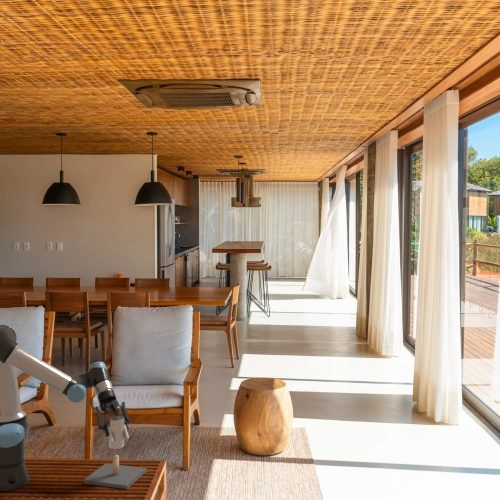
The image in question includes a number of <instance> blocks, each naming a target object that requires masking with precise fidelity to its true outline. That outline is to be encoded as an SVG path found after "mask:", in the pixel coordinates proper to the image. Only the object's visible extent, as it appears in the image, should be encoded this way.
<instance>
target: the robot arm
mask: <svg viewBox="0 0 500 500" xmlns="http://www.w3.org/2000/svg"><path fill="white" fill-rule="evenodd" d="M17 339H18V336H17V332H16V331H15V329H14V328H13V327H12V326H10V325H7V324H0V492H9V491H14V490H18V489H20V488H21V489H22V488H23V487H25V486H26V485H27V484H28V483H29V482H30V476H29V473H28V470H27V467H26V464H25V444H26V442H27V440H28V438H29V436H30V433H31V426H30V423H29V421H28V418H27V413H26V412H25V411H23V410H22V404H21V403H22V402H21V396H20V395H21V394H20V391H19V383H18V375H17V374H18V373H17V370H16V369H18V370H21V372H23V373H25V374H27V375H29V376H31V377H33V378H34V379H36V380H38V381H40V382H41V383H43V384H45V385H47V386H49V387H50V388H52V389H54V390H55V391H57V392H58V393H61V395H62V394H63V395H64V396H66V397H67V399H68V400H69V401H70V402H72V403H76V404H77V403H80V402H82V401H83V400H84V399H85V397H86V395H87V390H90V389H93V388H94V391H95V393H96V396H97V399H98V400H97V401H98V404H99V406H95V407H94V409H93V412H94V413H95V416H96V421H97V427H98V430H102V431H103V432H104V435H105V437H108V442H109V441H110V444H112V443H113V441H114V440H113V437H112V433H111V430H110V427H109V414H113V415H114V416H122V417H124V441H125V442H126V441H129V438H130V436H129V432H130V431H129V430H130V429H129V426H128V425H129V424H130V422H131V418H130V415H129V413H128V410H127V408H126V405H125V404H126V403H125V401H122V402H119V401H118V399H117V396H116V393H115V390H114V387H113V384H112V380H111V376H110V374H109V371H108V368H107V365H106V364H105V362H104V361H96V362H93V363H91V364H90V365H89V366H88V371H86V372H83V373H80V374H78V375H76V376H70V375H68V374H66V373H65V372H63V371H61V370H60V369H58V368H56V367H55V366H53V365H51V364H49V363H47V362H46V361H44V360H42V359H41V358H39V357H38V356H36V355H33V354H32V353H30V351H27V350H25V349H23V348H22V347H20V344H19V343H18V342H17ZM118 407H119V408H118ZM119 409H120V410H119ZM101 411H102V412H103V419H102V413H101Z"/></svg>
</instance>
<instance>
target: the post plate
mask: <svg viewBox="0 0 500 500" xmlns="http://www.w3.org/2000/svg"><path fill="white" fill-rule="evenodd" d="M147 470H148V469H147V467H139V466H129V465H121V464H120V456H119V454H114V455H113V456H112V463H104V464H103V465H101V466H100V467H99V468H97V469H96V470H94V472H92V473H91V474H90V475H88V476H87V477H85V478H84V479H83V484H85V485H93V486H99V487H107V488H109V487H110V488H117V489H122V490H123V489H125V490H128V489H129V488H130V487H131V486H132V485H133V484H135V482H137V481H138V480H139V479H141V477H142V476H143V475H144V474H146V473H147Z"/></svg>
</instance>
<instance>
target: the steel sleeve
mask: <svg viewBox="0 0 500 500" xmlns="http://www.w3.org/2000/svg"><path fill="white" fill-rule="evenodd" d="M122 416H123V415H122ZM122 416H116V415H114V416H111V417H108V427H110V430H111V433H112V437H113V440H114V441H113V443H112V444H110V441H109V440H108V447H109V448H110V449H113V450H119V449H122V448H124V447H125V436H124V416H123V417H122Z"/></svg>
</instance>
